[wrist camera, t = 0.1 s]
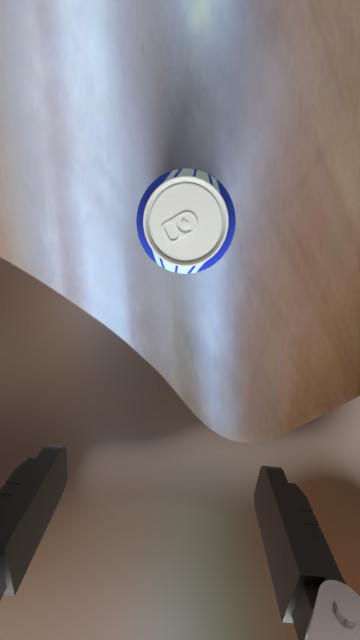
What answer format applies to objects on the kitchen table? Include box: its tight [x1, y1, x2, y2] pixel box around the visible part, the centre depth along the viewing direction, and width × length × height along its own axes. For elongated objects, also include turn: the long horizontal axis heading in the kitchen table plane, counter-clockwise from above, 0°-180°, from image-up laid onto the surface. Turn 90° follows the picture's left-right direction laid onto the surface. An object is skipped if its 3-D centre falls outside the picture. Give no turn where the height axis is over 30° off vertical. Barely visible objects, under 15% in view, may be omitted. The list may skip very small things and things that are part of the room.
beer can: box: [137, 168, 235, 274], centre depth 28 cm, size 8×8×16 cm
